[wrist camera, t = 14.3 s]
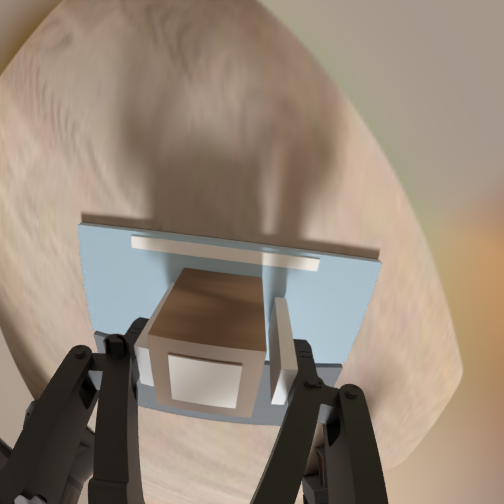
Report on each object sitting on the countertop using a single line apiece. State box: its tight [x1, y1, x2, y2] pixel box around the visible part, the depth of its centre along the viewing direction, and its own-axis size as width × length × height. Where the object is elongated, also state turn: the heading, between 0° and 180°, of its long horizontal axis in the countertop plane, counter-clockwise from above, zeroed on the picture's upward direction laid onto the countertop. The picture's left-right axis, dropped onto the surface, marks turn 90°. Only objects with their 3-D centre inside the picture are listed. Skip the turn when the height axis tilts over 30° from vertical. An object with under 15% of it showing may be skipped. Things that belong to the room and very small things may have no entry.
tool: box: [302, 446, 329, 504], centre depth 24 cm, size 6×19×15 cm, turn 6°
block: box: [147, 268, 267, 418], centre depth 15 cm, size 5×5×7 cm
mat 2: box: [94, 331, 342, 426], centre depth 21 cm, size 21×9×1 cm, turn 82°
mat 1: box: [78, 222, 382, 363], centre depth 18 cm, size 21×9×1 cm, turn 82°
